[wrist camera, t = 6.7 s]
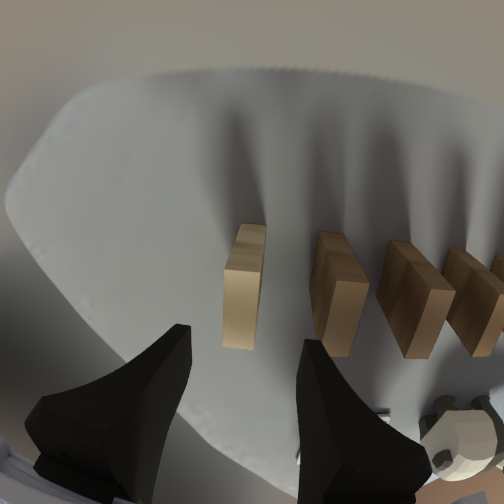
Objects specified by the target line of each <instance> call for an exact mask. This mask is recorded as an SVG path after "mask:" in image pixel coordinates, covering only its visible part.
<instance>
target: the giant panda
mask: <svg viewBox="0 0 504 504" xmlns="http://www.w3.org/2000/svg"><path fill="white" fill-rule="evenodd" d="M489 400H490V397H489V396H481V397H477V398H476V399H475V400H474V401H473V403H472V407H473V409H474V410H465V411H460V410H458V409H457V408H456V407H455V406H454V401H455V397H452V396H440V397H439V398H438V399H437V400H436V401H435V404H434V406H435V409H436V412H437V416H426V417H423V418H422V419H421V420H420V422H419V429H420V444H421V445H422V446H424V447H425V450H426V452H427V454H428V457H429V460H430V463H431V467H432V470H433V471H432V473H434V474H435V475H437V476H438V477H440V478H442V479H443V480H447V481H457V480H463V479H466V478H469V477H471V476H474V475H477V474H479V473H481V472H484V471H488V470H490V469H492V468H493V467H494V466H497V467H498V468H500V469H502V470H503V473H504V424H503V421H502V419H501V418H500V416H499V415H498V414H497V412H496V411H495V409H494V408H493V407H492V405H491V404H490V401H489Z"/></svg>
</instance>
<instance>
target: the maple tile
mask: <svg viewBox="0 0 504 504" xmlns="http://www.w3.org/2000/svg"><path fill="white" fill-rule="evenodd" d="M265 237H266V225H256V224H244V223H242V224H241V226H240V229H239V232H238V234H237V237H236V239H235V242H234V245H233V247H232V250H231V253H230V255H229V258H228V261H227V263H226V266H225V269H224V297H223V346H222V347H230V348H239V349H249V350H254V343H255V335H256V327H257V319H258V310H259V302H260V293H261V285H262V273H263V261H264V249H265Z"/></svg>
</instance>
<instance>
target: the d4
mask: <svg viewBox="0 0 504 504" xmlns="http://www.w3.org/2000/svg"><path fill="white" fill-rule="evenodd" d="M455 293H456V291H455V289H454V288H453V287H452V286H451V285H450V284H449V283H448V282H447V280H446V279H445V278H444V277H443V276H442V275H441V274H440V273H439V272H438V271H437V269H436V268H435V267H434V266H433V265H432V264H431V263H430V262H429V261H428V260H427V259H426V258H425V257H424V256H423V255H422V254H421V253H420V251H419V250H418V249H417V248H416V247H415V246H414V245H413V244H412V243H409V242H402V241H395V240H390V245H389V249H388V253H387V257H386V261H385V265H384V269H383V273H382V277H381V281H380V284H379V288H378V292H377V295H376V298H377V300H378V302H379V304H380V306H381V308H382V310H383V312H384V315H385V317H386V319H387V321H388V323H389V325H390V327H391V330H392V332H393V334H394V336H395V338H396V341H397V343H398V345H399V347H400V350H401V352H402V354H403V357H404V359H428V358H429V356H430V354H431V352H432V349H433V347H434V345H435V343H436V340H437V338H438V336H439V333H440V331H441V329H442V326H443V324H444V321H445V319H446V316H447V314H448V311H449V309H450V306H451V303H452V301H453V298H454V295H455Z"/></svg>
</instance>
